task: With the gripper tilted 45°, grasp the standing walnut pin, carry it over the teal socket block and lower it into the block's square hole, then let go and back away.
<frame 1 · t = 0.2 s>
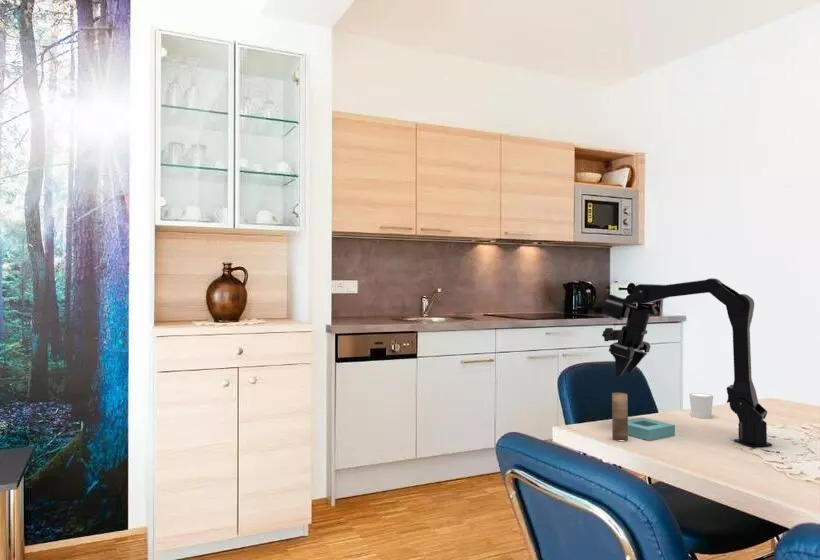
hand: (623, 374, 181), 15 cm above the table, tool tilted 15°, fingers open, 9 cm apart
walnut pin: (620, 439, 164), on the table
white cup: (701, 417, 192), on the table
socket block: (645, 434, 170), on the table
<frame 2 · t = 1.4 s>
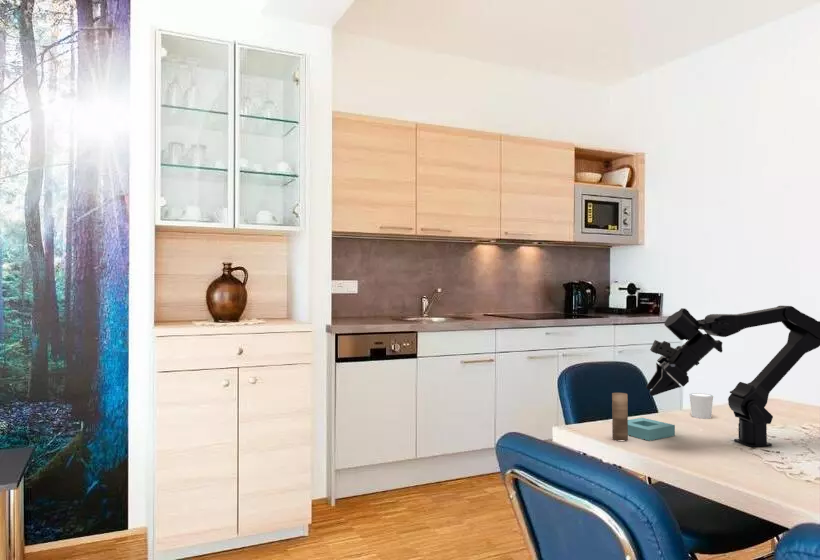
hand: (648, 391, 163), 13 cm above the table, tool tilted 45°, fingers open, 9 cm apart
nothing on the table moved.
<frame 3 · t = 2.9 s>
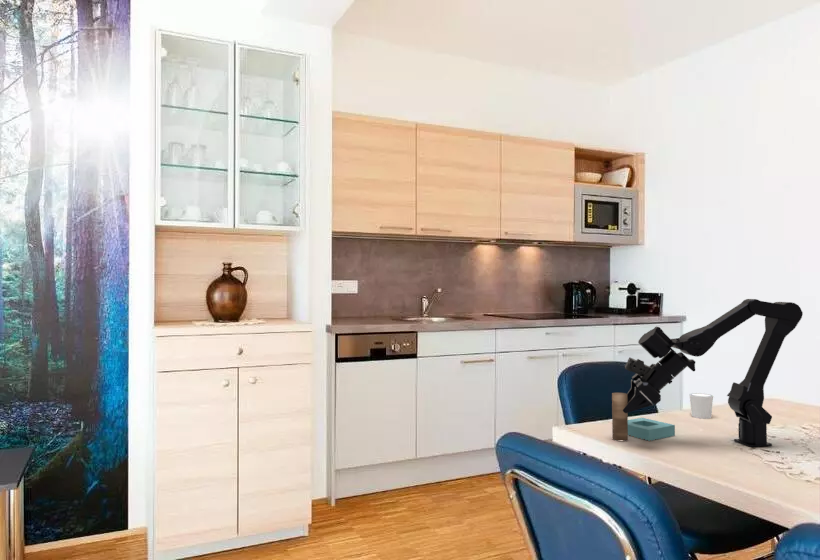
hand: (622, 408, 164), 9 cm above the table, tool tilted 45°, fingers open, 9 cm apart
nothing on the table moved.
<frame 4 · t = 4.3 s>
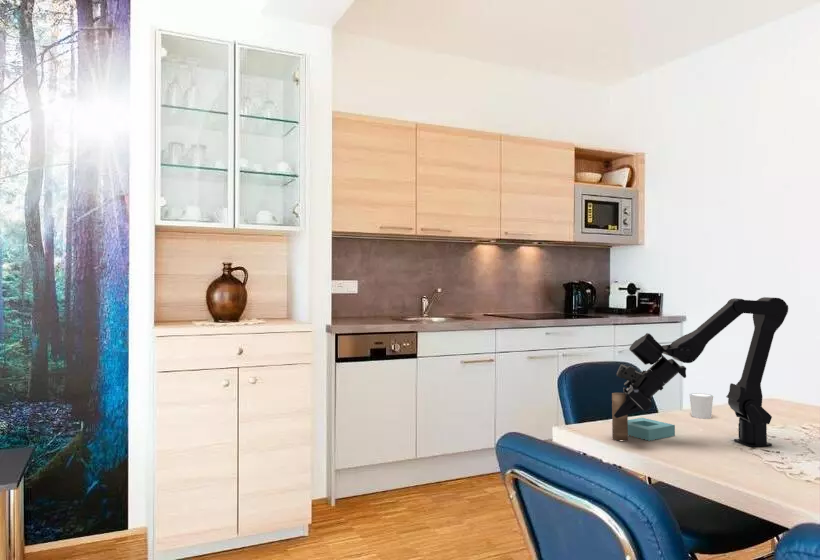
hand: (614, 415, 165), 7 cm above the table, tool tilted 45°, fingers closed on walnut pin, 4 cm apart
walnut pin: (620, 439, 164), on the table, touching gripper
everything else where it was.
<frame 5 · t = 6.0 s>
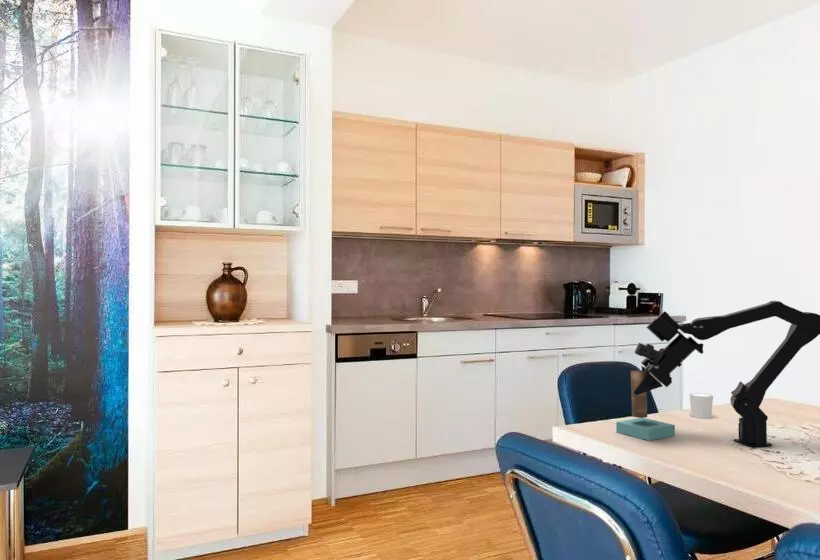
hand: (633, 392, 169), 12 cm above the table, tool tilted 45°, fingers closed on walnut pin, 4 cm apart
walnut pin: (639, 416, 168), point 6 cm above the table, touching gripper
everything else where it was.
when the fingers open (7 cm above the table, at t = 7.7 s): walnut pin stays where it is, resting in socket block.
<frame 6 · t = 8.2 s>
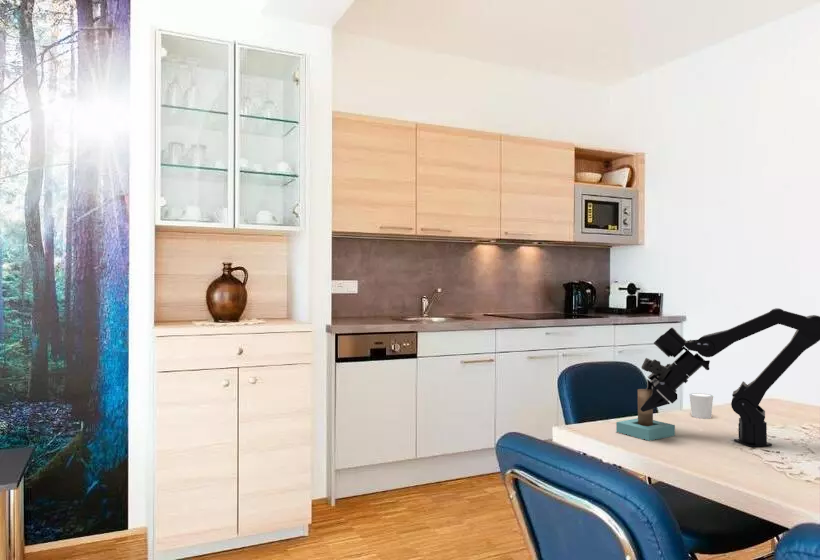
hand: (639, 407, 171), 8 cm above the table, tool tilted 45°, fingers open, 9 cm apart
walnut pin: (645, 434, 170), resting in socket block
everything else where it was.
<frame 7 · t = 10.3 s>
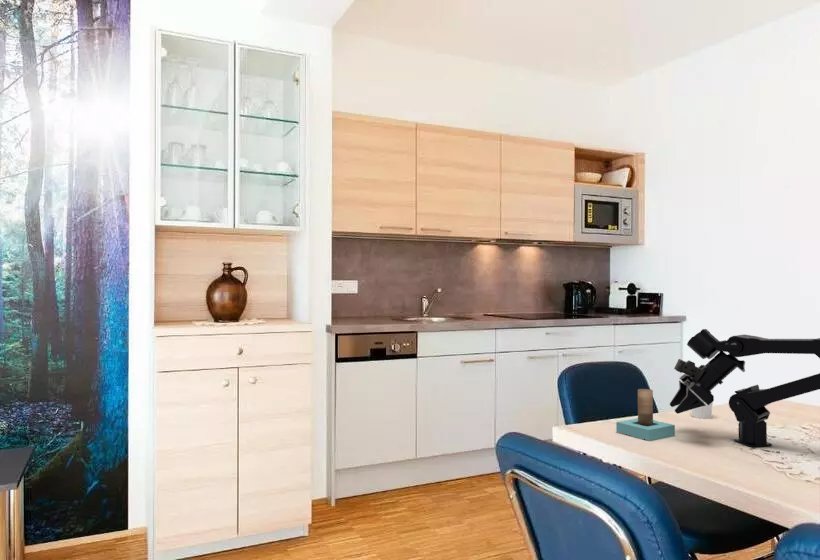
hand: (673, 408, 168), 8 cm above the table, tool tilted 45°, fingers open, 9 cm apart
nothing on the table moved.
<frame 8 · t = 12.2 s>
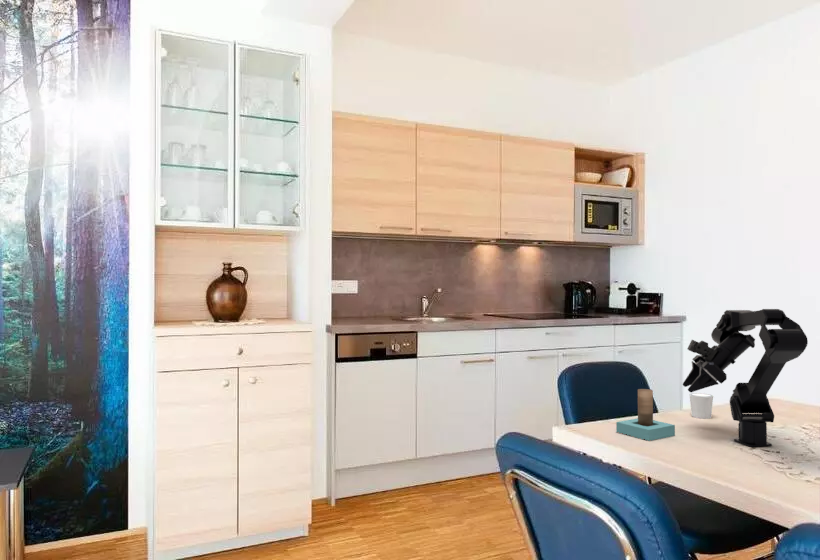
hand: (686, 388, 172), 13 cm above the table, tool tilted 45°, fingers open, 9 cm apart
nothing on the table moved.
at the end: walnut pin 0.0 cm off-centre on the socket block, point 0.0 cm above the socket block's base; walnut pin tilted 0°; the gripper is holding nothing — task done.
